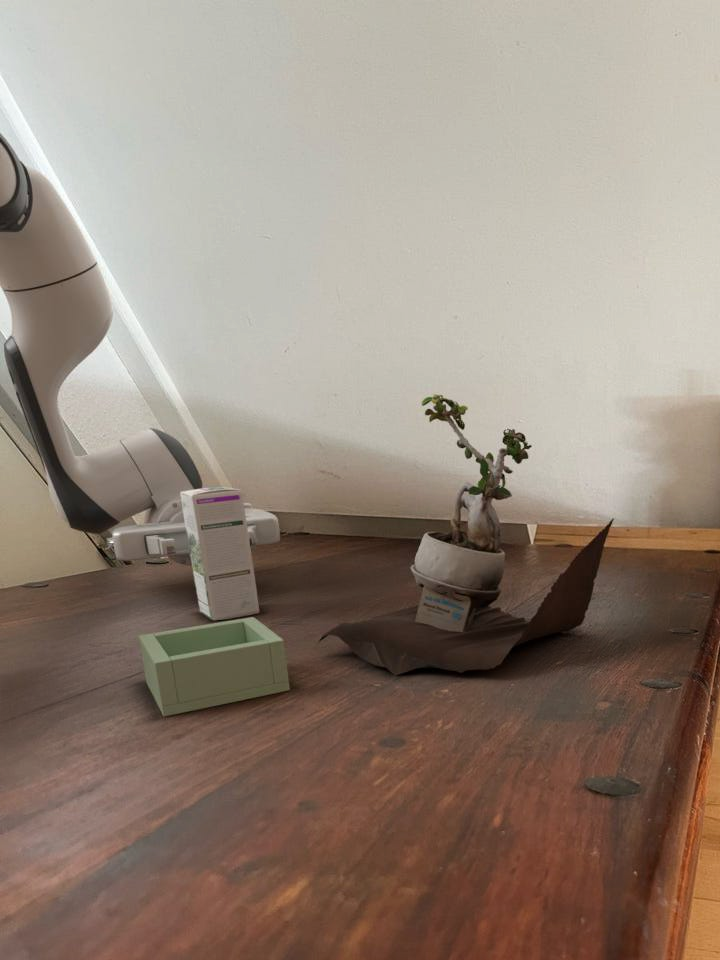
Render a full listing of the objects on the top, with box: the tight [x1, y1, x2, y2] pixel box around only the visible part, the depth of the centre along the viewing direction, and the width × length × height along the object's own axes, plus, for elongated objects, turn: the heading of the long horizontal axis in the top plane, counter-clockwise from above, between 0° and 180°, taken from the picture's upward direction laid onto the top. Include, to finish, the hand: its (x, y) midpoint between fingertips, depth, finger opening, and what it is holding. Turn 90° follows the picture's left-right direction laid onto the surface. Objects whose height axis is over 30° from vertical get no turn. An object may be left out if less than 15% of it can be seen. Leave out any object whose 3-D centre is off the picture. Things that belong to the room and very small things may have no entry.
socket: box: [137, 616, 291, 717], centre depth 64 cm, size 10×10×4 cm
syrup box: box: [180, 486, 260, 622], centre depth 89 cm, size 6×6×14 cm
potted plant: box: [315, 393, 615, 676], centre depth 72 cm, size 20×19×25 cm
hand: (209, 542), depth 93 cm, fingers open, 8 cm apart
